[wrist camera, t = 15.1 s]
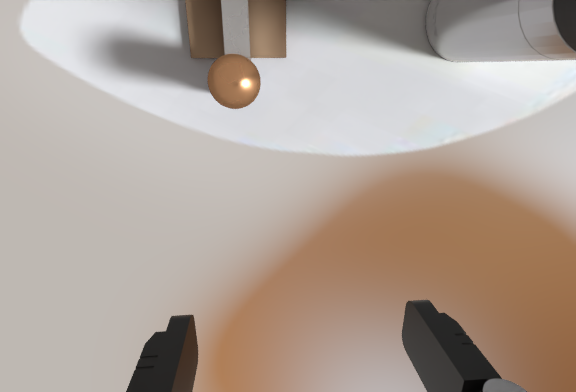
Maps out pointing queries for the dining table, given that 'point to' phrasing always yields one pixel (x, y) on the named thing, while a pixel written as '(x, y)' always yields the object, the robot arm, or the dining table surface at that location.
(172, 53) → the dining table surface
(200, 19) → the base board
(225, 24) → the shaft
